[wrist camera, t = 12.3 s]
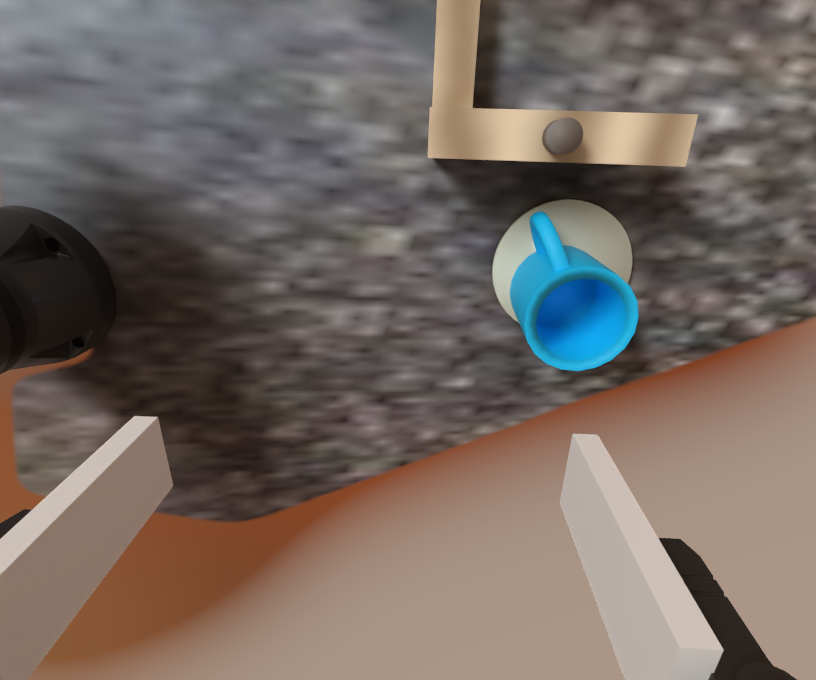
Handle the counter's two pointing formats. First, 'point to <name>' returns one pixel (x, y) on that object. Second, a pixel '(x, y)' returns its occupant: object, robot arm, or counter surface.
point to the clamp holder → (534, 115)
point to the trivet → (575, 228)
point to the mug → (570, 303)
